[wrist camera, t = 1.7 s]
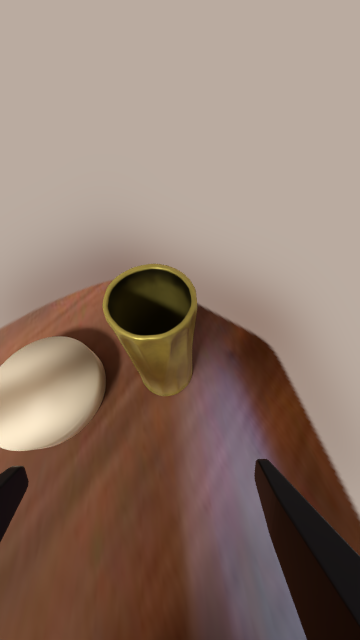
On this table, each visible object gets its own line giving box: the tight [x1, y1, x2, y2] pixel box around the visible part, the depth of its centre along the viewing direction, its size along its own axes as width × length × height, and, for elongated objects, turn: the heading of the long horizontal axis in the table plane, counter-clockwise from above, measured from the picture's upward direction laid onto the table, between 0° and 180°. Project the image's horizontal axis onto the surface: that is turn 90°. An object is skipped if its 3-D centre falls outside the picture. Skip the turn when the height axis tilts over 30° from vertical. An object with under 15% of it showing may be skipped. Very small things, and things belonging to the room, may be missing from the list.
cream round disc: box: [0, 336, 106, 451], centre depth 21 cm, size 11×11×3 cm
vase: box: [103, 264, 197, 396], centre depth 17 cm, size 6×6×14 cm
